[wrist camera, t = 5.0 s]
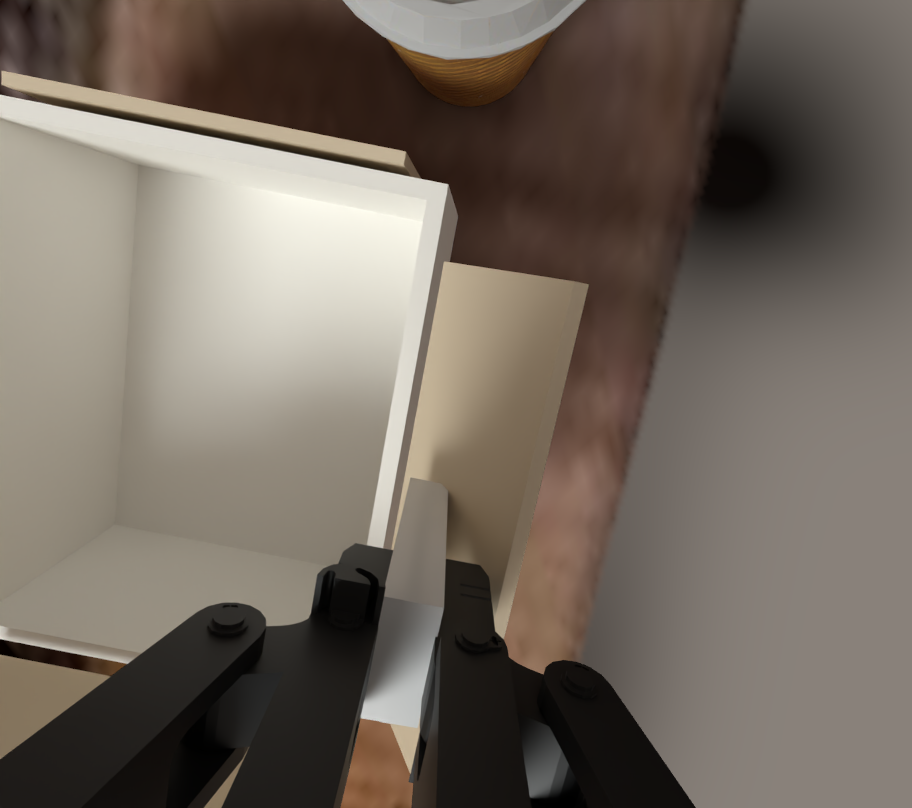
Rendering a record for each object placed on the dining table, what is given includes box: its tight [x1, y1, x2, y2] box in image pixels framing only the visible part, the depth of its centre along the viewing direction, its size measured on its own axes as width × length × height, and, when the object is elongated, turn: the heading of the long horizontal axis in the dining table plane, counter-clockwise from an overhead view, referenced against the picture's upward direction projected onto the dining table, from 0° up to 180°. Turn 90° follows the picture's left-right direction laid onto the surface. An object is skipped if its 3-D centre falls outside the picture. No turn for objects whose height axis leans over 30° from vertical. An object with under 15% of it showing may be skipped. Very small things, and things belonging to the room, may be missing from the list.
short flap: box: [0, 655, 249, 808], centre depth 19 cm, size 6×13×1 cm
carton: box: [0, 71, 458, 664], centre depth 25 cm, size 21×17×10 cm
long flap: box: [391, 261, 589, 774], centre depth 17 cm, size 15×7×1 cm
